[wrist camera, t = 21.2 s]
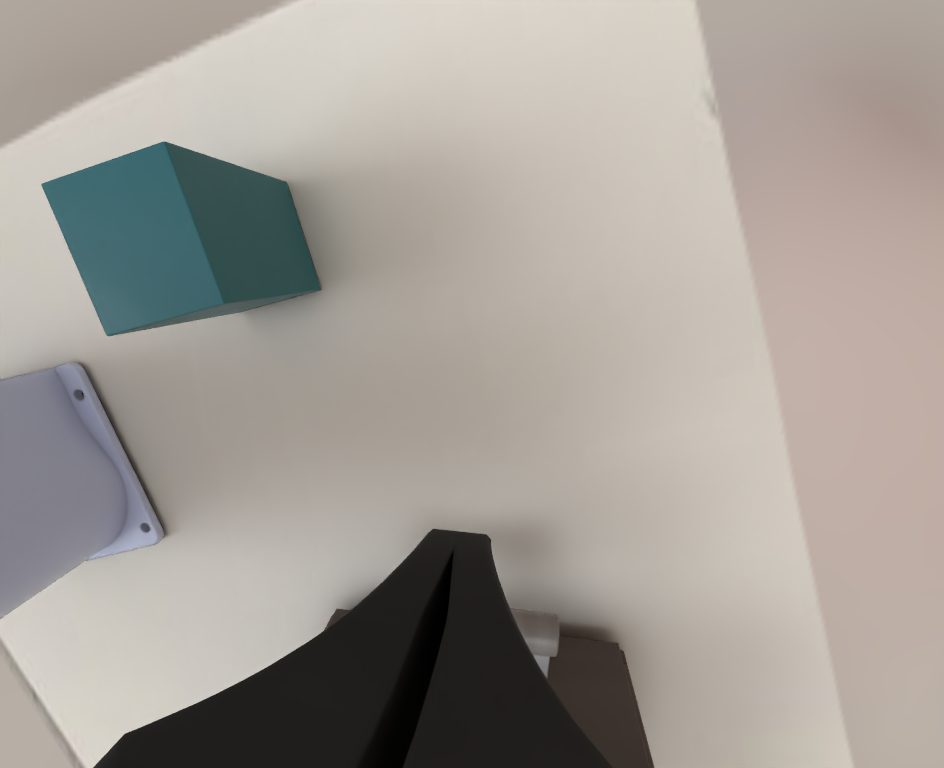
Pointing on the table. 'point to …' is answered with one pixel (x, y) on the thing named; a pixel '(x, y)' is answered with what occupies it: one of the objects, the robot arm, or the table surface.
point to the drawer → (584, 685)
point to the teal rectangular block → (180, 238)
